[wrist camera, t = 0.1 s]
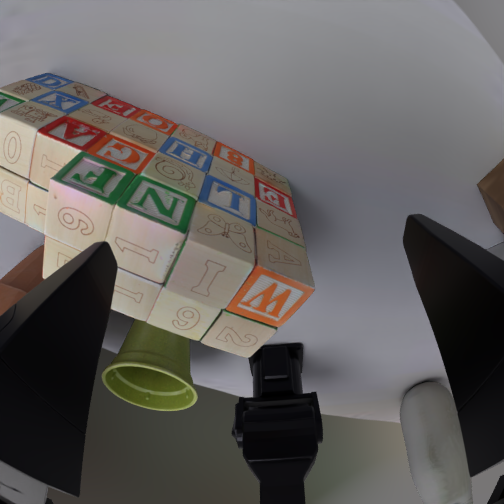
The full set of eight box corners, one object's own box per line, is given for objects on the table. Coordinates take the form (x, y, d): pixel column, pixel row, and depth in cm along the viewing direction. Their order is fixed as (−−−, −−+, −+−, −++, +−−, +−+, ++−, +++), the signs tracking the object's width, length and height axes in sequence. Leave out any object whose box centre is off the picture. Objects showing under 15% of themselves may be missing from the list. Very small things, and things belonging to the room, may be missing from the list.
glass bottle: (453, 376, 45) (491, 510, 22) (411, 403, 50) (438, 530, 27) (430, 367, 41) (472, 525, 19) (383, 397, 46) (409, 544, 24)
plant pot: (182, 285, 30) (166, 360, 23) (217, 342, 35) (212, 409, 28) (108, 302, 32) (83, 367, 25) (149, 351, 37) (136, 411, 30)
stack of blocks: (30, 139, 20) (-68, 215, 10) (47, 71, 17) (-72, 118, 7) (250, 237, 27) (250, 363, 17) (290, 178, 23) (319, 294, 14)
